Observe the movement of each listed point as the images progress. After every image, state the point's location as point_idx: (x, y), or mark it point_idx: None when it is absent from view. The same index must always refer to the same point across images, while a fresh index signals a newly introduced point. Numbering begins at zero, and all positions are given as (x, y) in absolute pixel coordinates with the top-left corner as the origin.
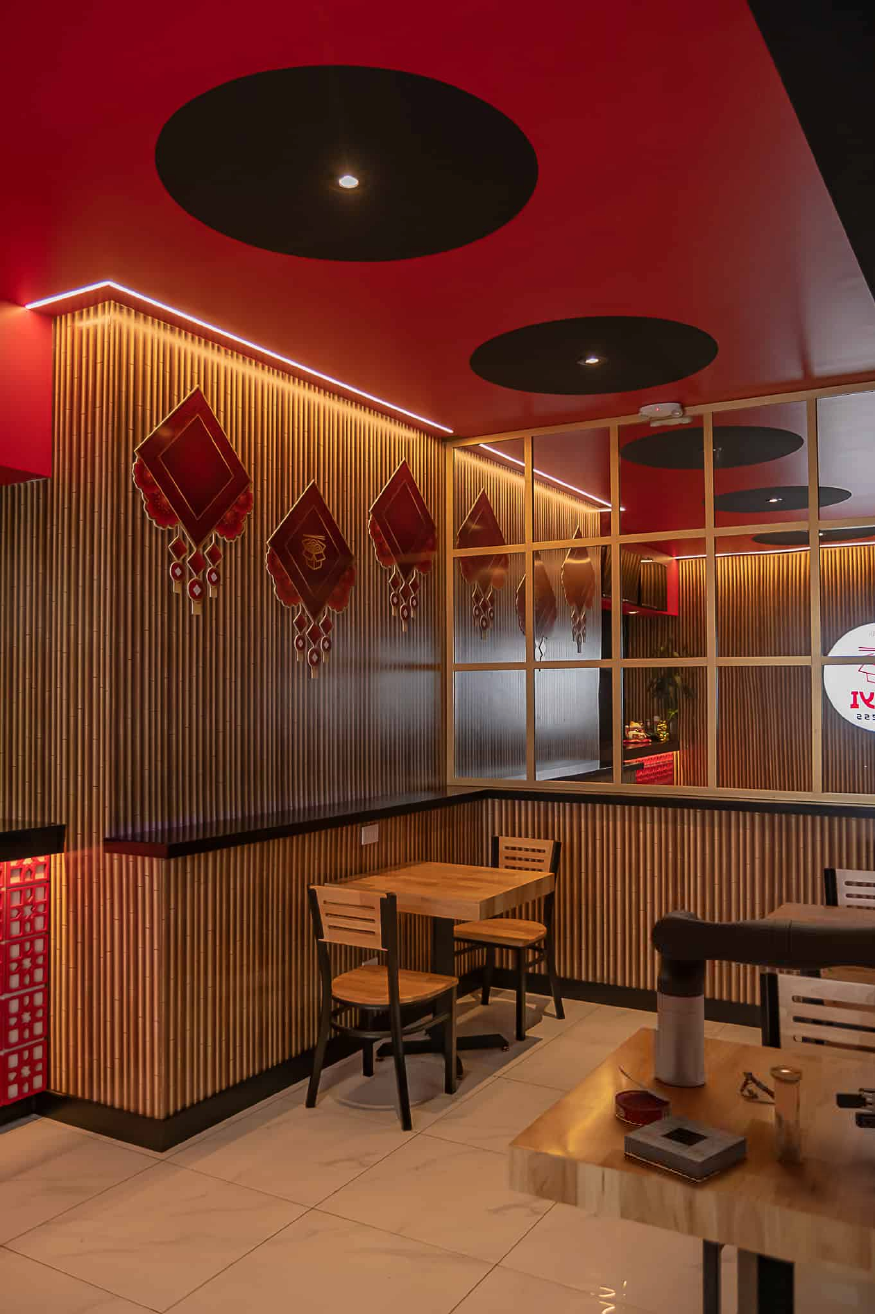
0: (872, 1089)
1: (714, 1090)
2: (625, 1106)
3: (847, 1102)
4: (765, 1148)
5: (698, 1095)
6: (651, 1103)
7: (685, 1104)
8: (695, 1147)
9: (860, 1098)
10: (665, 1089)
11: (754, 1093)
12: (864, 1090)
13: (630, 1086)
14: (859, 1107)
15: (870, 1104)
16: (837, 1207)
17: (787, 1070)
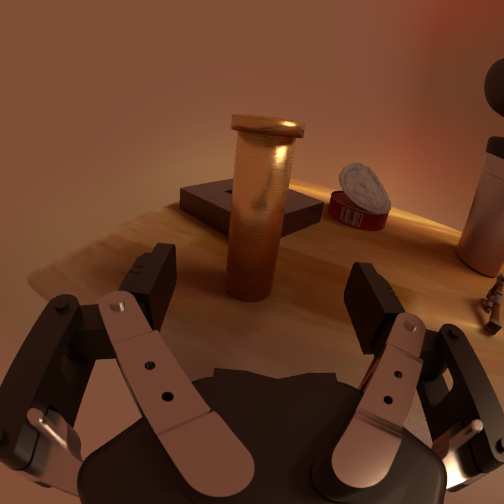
0: (473, 368)
1: (474, 279)
2: (335, 191)
3: (357, 302)
4: (292, 275)
5: (448, 263)
6: (356, 204)
7: (413, 248)
8: (220, 192)
9: (382, 327)
10: (442, 246)
11: (489, 304)
12: (444, 337)
13: (428, 229)
14: (363, 347)
15: (422, 396)
16: (71, 278)
17: (265, 117)
